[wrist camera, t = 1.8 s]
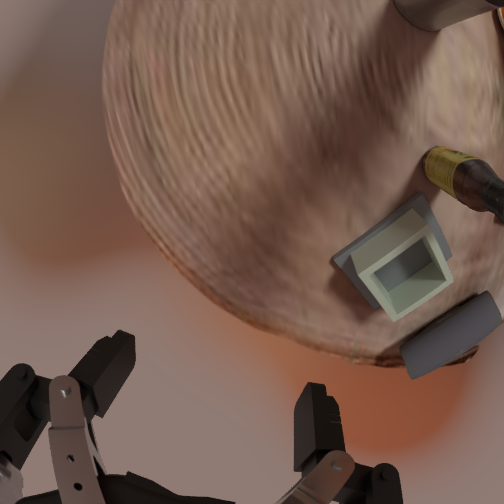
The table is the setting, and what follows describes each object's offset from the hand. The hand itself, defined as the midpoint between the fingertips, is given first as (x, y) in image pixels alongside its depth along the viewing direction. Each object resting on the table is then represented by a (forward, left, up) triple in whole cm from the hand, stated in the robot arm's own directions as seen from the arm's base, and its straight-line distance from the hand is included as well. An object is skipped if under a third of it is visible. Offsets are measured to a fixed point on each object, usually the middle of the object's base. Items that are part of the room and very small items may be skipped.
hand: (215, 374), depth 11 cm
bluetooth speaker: (-10, +46, -32) cm, 57 cm away
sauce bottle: (-22, +14, -32) cm, 41 cm away
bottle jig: (-8, +23, -32) cm, 40 cm away
